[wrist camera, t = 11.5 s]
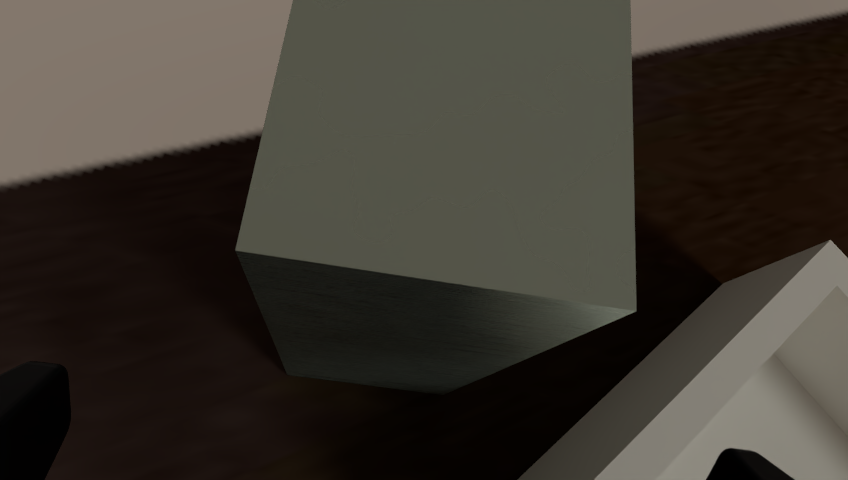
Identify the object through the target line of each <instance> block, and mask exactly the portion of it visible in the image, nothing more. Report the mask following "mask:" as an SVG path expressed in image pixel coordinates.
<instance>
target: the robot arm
mask: <svg viewBox="0 0 848 480" xmlns="http://www.w3.org/2000/svg"><path fill="white" fill-rule="evenodd" d="M70 421H71V406H70V393H69V379H68V372H67V370H66V368H65V367H64V366H62V365H60V364H54V363H46V362H38V361H30V362H26V363H24V364H21V365H19V366H17V367H15V368H13V369H11V370H9V371H7V372H5V373H3V374H1V375H0V480H45V478H46V476H47V474H48V471H49V469H50V467H51V465H52V463H53V461H54V459H55V457H56V455H57V453H58V451H59V449H60V447H61V445H62V442H63V440H64V438H65V436H66V434H67V432H68V429H69V425H70ZM706 480H795V479H793V478H792V477H790V476H789V475H788V474H786V473H785V472H784V471H782V470H781V469H779V468H778V467H777V466H775V465H774V464H773V463H771V462H770V461H768V460H767V459H766V458H764V457H763V456H762V455H760V454H759V453H757V452H755V451H751V450H744V449H736V448H727V449H725V450H724V451H722V452H721V453H720V455H719V456H718V458H717V460H716V462H715V464H714V466H713V467H712V469H711V471H710V473H709V475H708V477H707V478H706Z"/></svg>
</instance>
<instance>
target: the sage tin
mask: <svg viewBox="0 0 848 480" xmlns="http://www.w3.org/2000/svg"><path fill="white" fill-rule="evenodd" d="M235 251H236V254H237V256H238V258H239V261H240V263H241V265H242V268H243V270H244V273H245V275H246V277H247V280H248V282H249V285H250V287H251V289H252V292H253V294H254V296H255V299H256V301H257V304H258V306H259V308H260V311H261V313H262V315H263V318H264V320H265V323H266V325H267V327H268V330H269V332H270V335H271V337H272V339H273V342H274V344H275V346H276V349H277V351H278V354H279V356H280V358H281V361H282V363H283V365H284V368H285V370H286V373H287V375H291V376H299V377H307V378H315V379H323V380H331V381H338V382H346V383H354V384H362V385H370V386H378V387H385V388H393V389H401V390H409V391H417V392H425V393H432V394H440V395H444V394H446V393H449V392H451V391H453V390H456V389H458V388H460V387H463V386H465V385H467V384H470V383H472V382H474V381H476V380H479V379H481V378H483V377H486V376H488V375H490V374H493V373H495V372H497V371H500V370H502V369H504V368H506V367H509V366H511V365H513V364H516V363H518V362H520V361H523V360H525V359H527V358H530V357H532V356H534V355H536V354H539V353H541V352H543V351H546V350H548V349H550V348H553V347H555V346H557V345H560V344H562V343H564V342H566V341H569V340H571V339H573V338H576V337H578V336H580V335H583V334H585V333H587V332H590V331H592V330H594V329H596V328H599V327H601V326H603V325H606V324H608V323H610V322H613V321H615V320H617V319H620V318H622V317H624V316H626V315H629V314H631V313H633V312H636V311H637V310H636V260H635V210H634V160H633V109H632V59H631V10H630V0H293V4H292V8H291V12H290V16H289V20H288V25H287V29H286V33H285V38H284V42H283V46H282V51H281V55H280V60H279V64H278V68H277V72H276V77H275V81H274V85H273V90H272V94H271V98H270V102H269V107H268V111H267V116H266V120H265V124H264V128H263V133H262V137H261V141H260V145H259V150H258V154H257V158H256V163H255V167H254V171H253V176H252V180H251V184H250V189H249V193H248V197H247V202H246V206H245V210H244V215H243V219H242V223H241V228H240V232H239V236H238V240H237V245H236V249H235Z"/></svg>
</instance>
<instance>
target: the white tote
mask: <svg viewBox="0 0 848 480" xmlns="http://www.w3.org/2000/svg"><path fill="white" fill-rule="evenodd" d="M727 448H736V449H744V450H751V451H755V452H757V453H759V454H760V455H762V456H763V457H764V458H766V459H767V460H768V461H770V462H771V463H773V464H774V465H775V466H777V467H778V468H779V469H781V470H782V471H784V472H785V473H786V474H788V475H789V476H790V477H792V478H793V479H795V480H848V258H847V257H846V256H845V255H844V254H843V253H842V252H841V251H840V250H839V248H838V247H837V246H836V245H835V244H834V243H833V242H832V241H831V240H829V241H826V242H824V243H822V244H819V245H817V246H814V247H812V248H809V249H807V250H804V251H802V252H799V253H797V254H795V255H792V256H790V257H787V258H785V259H782V260H780V261H777V262H775V263H772V264H770V265H768V266H765V267H763V268H760V269H758V270H755V271H753V272H750V273H748V274H745V275H743V276H741V277H738V278H736V279H733V280H731V281H728V282H726V283H723V284H722V285H721V286H720V287H719V288H718V289H717V290H716V291H715V292H714V293H713V294H712V295H711V296H710V297H708V298H707V299H706V300H705V301H704V302H703V303H702V304H701V305H700V306H699V307H698V308H697V309H696V310H695V311H694V312H693V313H692V314H691V315H690V316H689V317H687V318H686V319H685V320H684V321H683V322H682V323H681V324H680V325H679V326H678V327H677V328H676V329H675V330H674V331H673V332H672V333H671V334H670V335H669V336H668V337H667V338H665V339H664V340H663V341H662V342H661V343H660V344H659V345H658V346H657V347H656V348H655V349H654V350H653V351H652V352H651V353H650V354H649V355H648V356H647V357H646V358H644V359H643V360H642V361H641V362H640V363H639V364H638V365H637V366H636V367H635V368H634V369H633V370H632V371H631V372H630V373H629V374H628V375H627V376H626V377H625V378H623V379H622V380H621V381H620V382H619V383H618V384H617V385H616V386H615V387H614V388H613V389H612V390H611V391H610V392H609V393H608V394H607V395H606V396H605V397H604V398H602V399H601V400H600V401H599V402H598V403H597V404H596V405H595V406H594V407H593V408H592V409H591V410H590V411H589V412H588V413H587V414H586V415H585V416H584V417H583V418H582V419H580V420H579V421H578V422H577V423H576V424H575V425H574V426H573V427H572V428H571V429H570V430H569V431H568V432H567V433H566V434H565V435H564V436H563V437H562V438H561V439H559V440H558V441H557V442H556V443H555V444H554V445H553V446H552V447H551V448H550V449H549V450H548V451H547V452H546V453H545V454H544V455H543V456H542V457H541V458H540V459H538V460H537V461H536V462H535V463H534V464H533V465H532V466H531V467H530V468H529V469H528V470H527V471H526V472H525V473H524V474H523V475H522V476H521V477H520V478H519V479H517V480H706V478H707V477H708V475H709V473H710V471H711V469H712V467H713V466H714V464H715V462H716V460H717V458H718V456H719V455H720V453H721V452H722V451H724V450H725V449H727Z"/></svg>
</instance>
